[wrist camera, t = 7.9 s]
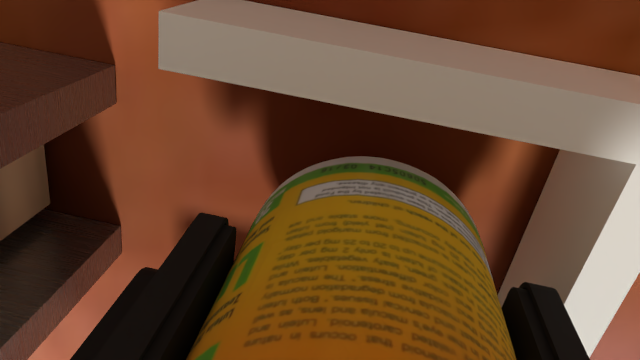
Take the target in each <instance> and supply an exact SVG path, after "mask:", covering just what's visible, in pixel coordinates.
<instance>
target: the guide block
mask: <svg viewBox="0 0 640 360" xmlns="http://www.w3.org/2000/svg"><path fill="white" fill-rule="evenodd" d="M114 104H116V88H115V65H111V64H106V63H101V62H96V61H91V60H86V59H81V58H76V57H71V56H66V55H61V54H56V53H51V52H46V51H41V50H36V49H31V48H26V47H21V46H16V45H11V44H6V43H1V42H0V169H1V168H3V167H4V166H6V165H8V164H10V163H12V162H13V161H15V160H17V159H19V158H20V157H22V156H24V155H26V154H27V153H29V152H31V151H33V150H35V149H36V148H38V147H40V146H42V145H43V144H45V143H47V142H49V141H50V140H52V139H54V138H56V137H58V136H59V135H61V134H63V133H65V132H66V131H68V130H70V129H72V128H73V127H75V126H77V125H79V124H81V123H82V122H84V121H86V120H88V119H89V118H91V117H93V116H95V115H97V114H98V113H100V112H102V111H104V110H105V109H107V108H109V107H111V106H112V105H114ZM120 254H121V226H119V225H114V224H109V223H105V222H100V221H96V220H91V219H87V218H82V217H78V216H73V215H68V214H64V213H59V212H55V211H50V210H46V209H42V210H41V211H40V212H38V213H37V214H36V215H34V216H33V217H32V218H30V219H29V220H28V221H26V222H25V223H24V224H22V225H21V226H20V227H18V228H17V229H16V230H14V231H13V232H12V233H10V234H9V235H8V236H6V237H5V238H4V239H2V240H1V241H0V360H27V359H28V358H29V357H30V356H31V355H32V353H33V352H34V351H35V350H36V349H37V348H38V347H39V346H40V344H41V343H42V342H43V341H44V340H45V339H46V338H47V337H48V335H49V334H50V333H51V332H52V331H53V330H54V329H55V328H56V326H57V325H58V324H59V323H60V322H61V321H62V320H63V319H64V317H65V316H66V315H67V314H68V313H69V312H70V311H71V310H72V308H73V307H74V306H75V305H76V304H77V303H78V302H79V301H80V299H81V298H82V297H83V296H84V295H85V294H86V293H87V292H88V290H89V289H90V288H91V287H92V286H93V285H94V284H95V283H96V281H97V280H98V279H99V278H100V277H101V276H102V275H103V274H104V272H105V271H106V270H107V269H108V268H109V267H110V266H111V265H112V263H113V262H114V261H115V260H116V259H117V258H118V257H119V256H120Z"/></svg>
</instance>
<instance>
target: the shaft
mask: <svg viewBox="0 0 640 360" xmlns="http://www.w3.org/2000/svg"><path fill="white" fill-rule="evenodd" d="M49 204H50V195H49V186H48V177H47V169H46V160H45V151H44V144H43V145H42V146H40V147H38V148H36V149H35V150H33V151H31V152H29V153H27V154H26V155H24V156H22V157H20V158H19V159H17V160H15V161H13V162H12V163H10V164H8V165H6V166H4V167H3V168H1V169H0V241H1V240H2V239H4V238H5V237H6V236H8V235H9V234H10V233H12V232H13V231H14V230H16V229H17V228H18V227H20V226H21V225H22V224H24V223H25V222H26V221H28V220H29V219H30V218H32V217H33V216H34V215H36V214H37V213H38V212H40V211H41V210H42V209H44V208H45V207H46V206H48V205H49Z"/></svg>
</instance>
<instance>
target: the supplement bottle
mask: <svg viewBox="0 0 640 360" xmlns="http://www.w3.org/2000/svg"><path fill="white" fill-rule="evenodd" d="M186 360H516V356H515V353H514V349H513V346H512V342H511V339H510V336H509V332H508V329H507V325H506V322H505V319H504V316H503V312H502V309H501V306H500V302H499V299H498V295H497V292H496V289H495V285H494V282H493V278H492V275H491V271H490V268H489V264H488V261H487V257H486V254H485V251H484V247H483V244H482V242H481V239H480V236H479V233H478V231H477V228H476V226H475V224H474V221H473V219H472V218H471V216H470V214H469V212H468V211H467V209H466V208H465V206H464V205H463V204H462V202H461V201H460V200H459V199H458V198H457V197H456V195H455V194H454V193H453V192H452V191H450V190H449V189H448V188H447V187H446V186H445V185H444V184H443V183H441V182H440V181H438V180H437V179H436V178H434V177H433V176H431V175H429V174H427V173H425V172H423V171H421V170H419V169H417V168H415V167H412V166H410V165H407V164H404V163H401V162H398V161H394V160H390V159H385V158H379V157H368V156H353V157H343V158H338V159H332V160H328V161H324V162H321V163H318V164H315V165H312V166H310V167H307V168H305V169H303V170H301V171H300V172H298V173H296V174H294V175H293V176H292V177H290V178H289V179H287V180H286V181H285V182H284V183H282V184H281V185H280V186H279V187H278V188H277V189H276V190H275V191H274V192H273V193H272V194H271V195H270V197H269V198H268V199H267V201H266V202H265V203H264V205H263V207H262V208H261V210H260V211H259V213H258V215H257V217H256V219H255V220H254V222H253V224H252V226H251V228H250V230H249V233H248V235H247V237H246V239H245V241H244V243H243V245H242V247H241V249H240V251H239V253H238V255H237V257H236V259H235V261H234V263H233V265H232V267H231V269H230V271H229V273H228V275H227V277H226V280H225V282H224V284H223V286H222V288H221V290H220V292H219V294H218V296H217V298H216V300H215V302H214V304H213V306H212V308H211V310H210V312H209V314H208V316H207V318H206V320H205V322H204V324H203V326H202V328H201V330H200V332H199V334H198V336H197V338H196V340H195V342H194V344H193V346H192V348H191V350H190V352H189V354H188V356H187V358H186Z"/></svg>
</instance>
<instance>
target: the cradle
mask: <svg viewBox="0 0 640 360" xmlns="http://www.w3.org/2000/svg"><path fill="white" fill-rule="evenodd" d="M158 69H162V70H167V71H172V72H177V73H182V74H187V75H192V76H197V77H202V78H207V79H212V80H217V81H222V82H227V83H232V84H237V85H242V86H247V87H252V88H257V89H262V90H267V91H272V92H277V93H282V94H287V95H292V96H297V97H302V98H307V99H312V100H317V101H322V102H327V103H332V104H337V105H342V106H347V107H352V108H357V109H362V110H367V111H372V112H377V113H382V114H387V115H392V116H397V117H402V118H407V119H412V120H417V121H422V122H427V123H432V124H437V125H442V126H447V127H452V128H457V129H462V130H467V131H472V132H477V133H482V134H487V135H492V136H497V137H502V138H507V139H512V140H517V141H522V142H527V143H532V144H537V145H542V146H546V147H551V148H556V149H560V151H559V153H558V155H557V158H556V160H555V162H554V165H553V167H552V169H551V172H550V174H549V176H548V179H547V181H546V183H545V186H544V188H543V190H542V193H541V195H540V197H539V200H538V202H537V204H536V207H535V209H534V211H533V214H532V216H531V218H530V221H529V223H528V225H527V228H526V230H525V232H524V235H523V237H522V239H521V242H520V244H519V246H518V249H517V251H516V253H515V256H514V258H513V260H512V263H511V265H510V267H509V270H508V272H507V274H506V277H505V279H504V281H503V284H502V286H501V288H500V291H499V293H498V299H499V302H500V306H501V308H502V306H503V303H504V301H505V299H506V297H507V294H508V292H509V290H510V289H511V288H512V287H517V288H519V286H520V285H521V284H522V283H524V282H528V283H533V284H537V285H542V286H547V287H551V288H554V289H556V290H557V292H558V294H559V296H560V298H561V300H562V302H563V304H564V306H565V308H566V310H567V312H568V315H569V317H570V319H571V321H572V323H573V325H574V327H575V329H576V331H577V333H578V336H579V338H580V340H581V342H582V344H583V346H584V348H585V350H586V352H587V355H588V357H589V358H590V356H591V354H592V353H593V351H594V349H595V347H596V346H597V344H598V342H599V341H600V339H601V337H602V336H603V334H604V332H605V330H606V329H607V327H608V325H609V324H610V322H611V320H612V318H613V317H614V315H615V313H616V312H617V310H618V308H619V307H620V305H621V303H622V301H623V300H624V298H625V296H626V295H627V293H628V291H629V290H630V288H631V286H632V284H633V283H634V281H635V279H636V278H637V276H638V274H639V272H640V76H638V75H633V74H627V73H622V72H617V71H612V70H606V69H601V68H596V67H591V66H586V65H580V64H575V63H570V62H565V61H559V60H554V59H549V58H544V57H538V56H533V55H528V54H523V53H517V52H512V51H507V50H502V49H497V48H491V47H486V46H481V45H476V44H470V43H465V42H460V41H455V40H449V39H444V38H439V37H434V36H428V35H423V34H418V33H413V32H408V31H402V30H397V29H392V28H387V27H381V26H376V25H371V24H366V23H360V22H355V21H350V20H345V19H339V18H334V17H329V16H324V15H318V14H313V13H308V12H303V11H298V10H292V9H287V8H282V7H277V6H271V5H266V4H261V3H256V2H250V1H245V0H197V1H194V2H190V3H186V4H183V5H179V6H175V7H172V8H168V9H165V10H161V11H159V65H158Z"/></svg>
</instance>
